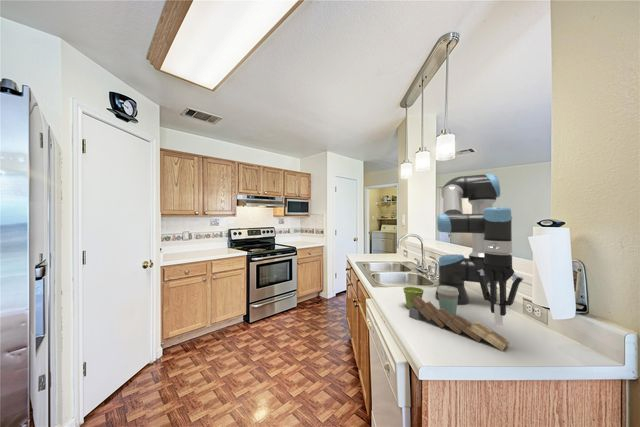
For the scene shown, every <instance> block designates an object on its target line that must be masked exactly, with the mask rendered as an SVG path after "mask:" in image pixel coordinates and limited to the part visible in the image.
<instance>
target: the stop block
mask: <svg viewBox="0 0 640 427" xmlns="http://www.w3.org/2000/svg"><path fill="white" fill-rule="evenodd" d="M408 311H409V312H408V314H409V315H408V317H409V318H412V319H414V320H416V319H417V321H419V320H421V319H423V318H425V317H424V316H423V314H422V313H421V312H420V311H419V310H418V309H417V308H416V307H415V306H412V307H409V308H408Z"/></svg>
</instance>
